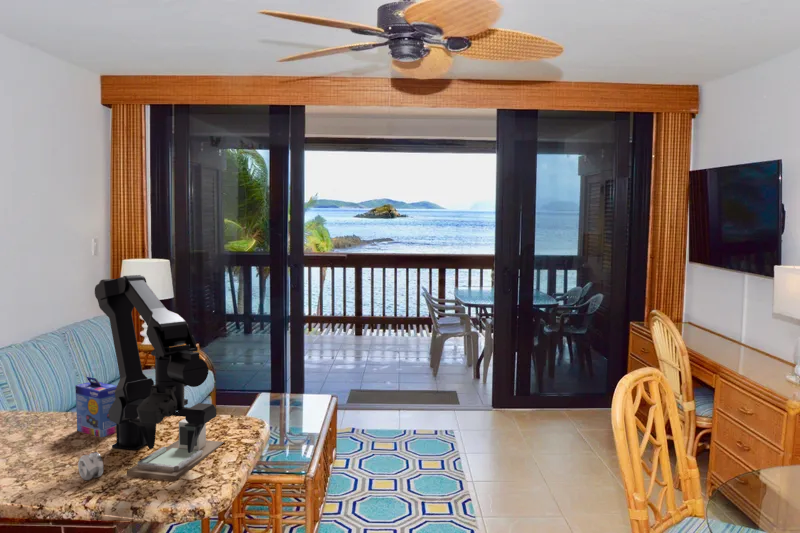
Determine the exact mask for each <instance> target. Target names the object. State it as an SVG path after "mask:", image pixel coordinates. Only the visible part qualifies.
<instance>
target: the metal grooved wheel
mask: <svg viewBox="0 0 800 533" xmlns="http://www.w3.org/2000/svg"><path fill="white" fill-rule="evenodd" d="M77 466H78V473H79V475H80V478H82V480H83V481H90V480H92V478H94V479H96V478H97V479H98V478H100V477H102V476H103V473H104V462H103V458H102V456H101V454H100V453H99V452H97V451H95V452H91V453H89V454H84V455H82V456H80V458H79V459H78V465H77Z"/></svg>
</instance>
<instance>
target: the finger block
mask: <svg viewBox="0 0 800 533" xmlns="http://www.w3.org/2000/svg"><path fill="white" fill-rule="evenodd" d="M187 423H188V422H187V421H186V420H185V418H183V419H182V420H180V421H178V440H179V448H183V449H188V448H187V440H188V430H187V429H186V427H185V424H187ZM206 440H207V423H205V425H204V427H203V429H202V430H201V432H200V435H199V437H198V439H197V442H196V444H195V446H194V449H193V450H200V449H201V448H203V447H204V446H206Z"/></svg>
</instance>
